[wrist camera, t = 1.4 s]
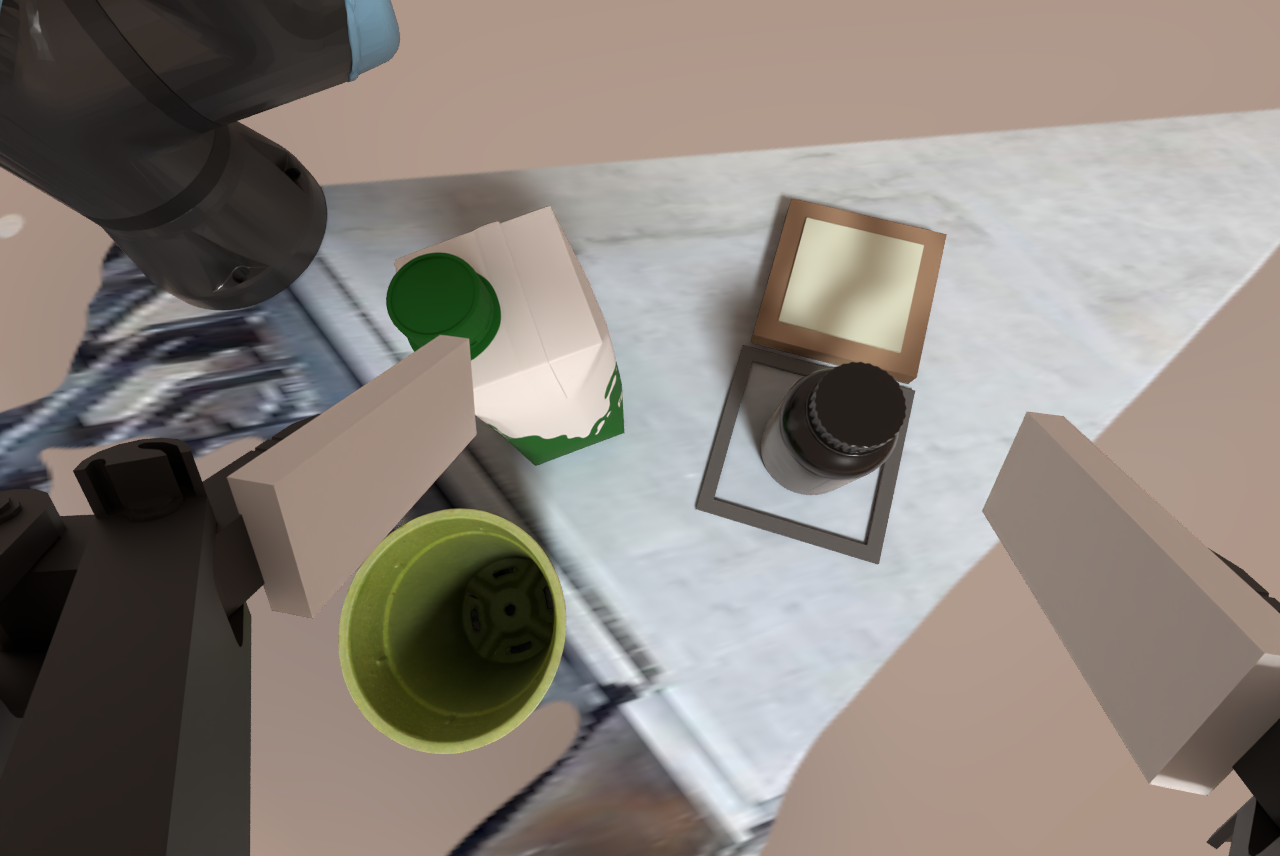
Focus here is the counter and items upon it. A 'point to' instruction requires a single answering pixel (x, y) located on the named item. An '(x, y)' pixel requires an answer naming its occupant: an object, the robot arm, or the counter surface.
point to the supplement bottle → (833, 428)
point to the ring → (779, 526)
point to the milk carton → (518, 331)
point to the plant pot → (451, 631)
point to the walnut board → (850, 289)
